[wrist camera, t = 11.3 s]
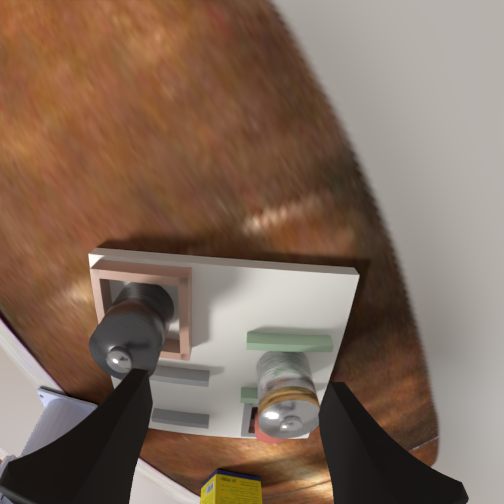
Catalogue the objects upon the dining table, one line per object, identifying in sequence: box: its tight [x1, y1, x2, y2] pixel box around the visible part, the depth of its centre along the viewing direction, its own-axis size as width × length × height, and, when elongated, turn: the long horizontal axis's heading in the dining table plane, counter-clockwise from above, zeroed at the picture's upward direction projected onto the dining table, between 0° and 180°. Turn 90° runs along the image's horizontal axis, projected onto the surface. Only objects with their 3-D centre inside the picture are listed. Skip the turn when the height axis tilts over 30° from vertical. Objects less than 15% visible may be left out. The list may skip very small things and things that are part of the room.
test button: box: [254, 407, 289, 443], centre depth 24 cm, size 3×3×3 cm
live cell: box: [256, 351, 320, 439], centre depth 20 cm, size 4×4×6 cm
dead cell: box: [89, 282, 174, 380], centre depth 18 cm, size 4×4×6 cm
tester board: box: [89, 248, 359, 439], centre depth 23 cm, size 18×18×3 cm
